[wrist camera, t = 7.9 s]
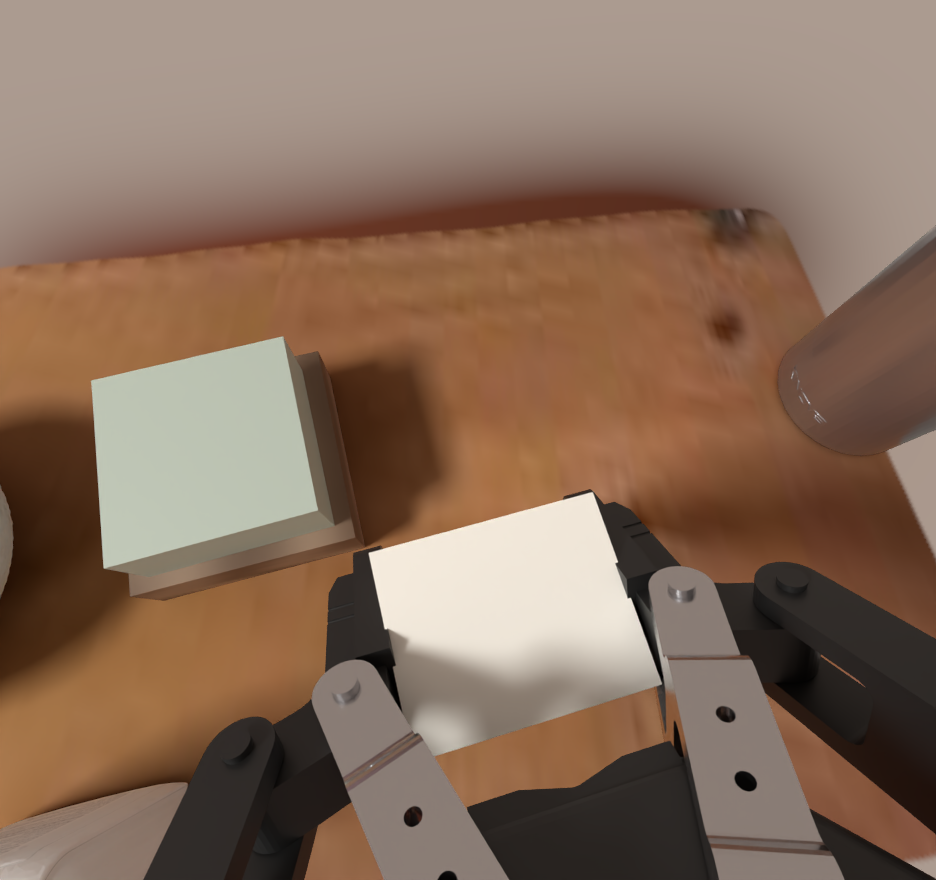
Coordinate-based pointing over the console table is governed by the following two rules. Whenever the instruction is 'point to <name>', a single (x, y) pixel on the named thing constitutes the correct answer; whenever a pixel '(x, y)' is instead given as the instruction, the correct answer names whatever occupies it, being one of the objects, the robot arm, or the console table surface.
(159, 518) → the tower top
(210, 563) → the tower base
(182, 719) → the console table surface
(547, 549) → the cream block
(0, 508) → the cereal bowl
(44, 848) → the photo printer
